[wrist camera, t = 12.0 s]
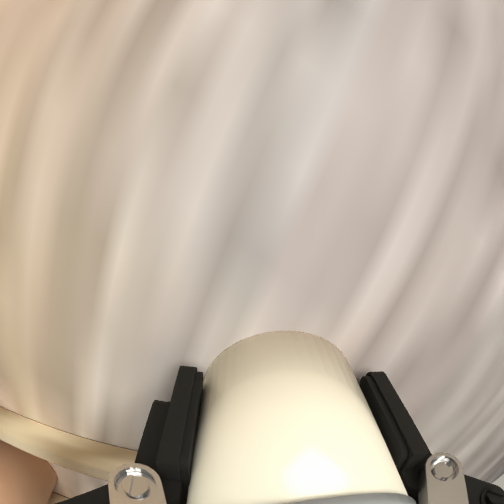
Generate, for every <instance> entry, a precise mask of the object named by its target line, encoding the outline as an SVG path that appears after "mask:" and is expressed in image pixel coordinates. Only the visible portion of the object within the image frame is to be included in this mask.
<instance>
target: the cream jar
mask: <svg viewBox="0 0 504 504" xmlns="http://www.w3.org/2000/svg"><path fill="white" fill-rule="evenodd" d="M186 504H416V501H415V500H414V499H413V498H412V497H410V496H408V494H407V492H406V489H405V487H404V485H403V482H402V480H401V478H400V475H399V473H398V471H397V468H396V466H395V464H394V461H393V459H392V457H391V454H390V452H389V450H388V448H387V445H386V443H385V441H384V439H383V436H382V434H381V432H380V430H379V428H378V425H377V423H376V421H375V419H374V417H373V414H372V412H371V410H370V408H369V406H368V403H367V401H366V399H365V397H364V395H363V393H362V391H361V388H360V386H359V384H358V382H357V380H356V378H355V376H354V374H353V372H352V369H351V367H350V365H349V363H348V361H347V359H346V357H345V356H344V355H343V353H342V352H341V351H340V350H339V349H338V348H337V347H336V346H335V345H333V344H332V343H330V342H329V341H327V340H325V339H323V338H321V337H318V336H315V335H313V334H309V333H304V332H297V331H274V332H267V333H262V334H258V335H254V336H251V337H248V338H246V339H244V340H241V341H239V342H237V343H235V344H234V345H232V346H230V347H229V348H227V349H226V350H225V351H223V352H222V353H221V354H220V355H219V356H218V357H217V358H216V359H215V360H214V361H213V363H212V364H211V365H210V367H209V369H208V371H207V373H206V375H205V378H204V382H203V392H202V398H201V405H200V412H199V419H198V426H197V433H196V440H195V447H194V455H193V462H192V470H191V477H190V484H189V487H188V495H187V503H186Z"/></svg>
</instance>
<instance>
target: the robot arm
mask: <svg viewBox="0 0 504 504" xmlns="http://www.w3.org/2000/svg"><path fill="white" fill-rule="evenodd" d="M359 386H360V388H361V391H362V393H363V395H364V397H365V399H366V401H367V403H368V406H369V408H370V410H371V412H372V414H373V417H374V419H375V421H376V423H377V425H378V428H379V430H380V432H381V434H382V436H383V439H384V441H385V443H386V445H387V448H388V450H389V452H390V454H391V457H392V459H393V461H394V464H395V466H396V468H397V471H398V473H399V475H400V478H401V480H402V482H403V485H404V487H405V489H406V492H407V494H408V496H410V497H412V498H413V499H414V500H415V501H416V504H504V491H503V489H501V488H500V487H498V486H496V485H494V484H490V483H487V482H484V481H481V480H478V479H476V478H473V477H470V476H467V475H464V473H463V468H462V465H461V463H460V461H459V460H458V459H457V458H456V457H454V456H453V455H451V454H448V453H436V454H434V455H432V454H431V453H430V451H429V449H428V447H427V445H426V443H425V442H424V440H423V438H422V436H421V434H420V433H419V431H418V429H417V427H416V425H415V424H414V422H413V420H412V418H411V417H410V415H409V413H408V411H407V410H406V408H405V407H404V405H403V403H402V401H401V400H400V398H399V396H398V394H397V393H396V391H395V389H394V388H393V386H392V384H391V383H390V381H389V379H388V378H387V376H386V374H385V373H384V372H369V373H367V374H366V376H364V377H362V379H361V381H360V384H359ZM202 392H203V372H197V367H188V366H180V368H179V371H178V375H177V379H176V383H175V386H174V390H173V394H172V398H171V401H170V402H164V401H158V400H155V401H154V402H153V404H152V407H151V410H150V413H149V416H148V420H147V423H146V426H145V429H144V432H143V436H142V439H141V442H140V446H139V449H138V452H137V456H136V459H135V462H134V463H129V464H123V465H121V466H119V467H117V468H116V469H115V470H113V471H112V473H111V474H110V476H109V480H108V484H107V485H105V486H102V487H100V488H97V489H95V490H92V491H90V492H87V493H84V494H81V495H79V496H76V497H73V498H70V499H67V500H64V501H61V502H58V503H55V504H186V503H187V495H188V487H189V484H190V477H191V470H192V462H193V455H194V447H195V440H196V433H197V426H198V419H199V412H200V405H201V398H202Z"/></svg>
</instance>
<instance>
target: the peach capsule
mask: <svg viewBox="0 0 504 504" xmlns="http://www.w3.org/2000/svg"><path fill="white" fill-rule="evenodd" d="M57 480H58V478H57V474H56V472H55V471H54V469H53V468H52V467H51V465H50V464H49V463H48V462H47V461H46V460H44V459H42V458H39V457H37V456H34V455H32V454H30V453H28V452H25V451H23V450H21V449H19V448H17V447H15V446H12V445H10V444H8V443H6V442H4V441H2V440H0V504H47V503H48V501H49V498H50V496H51V494H52V492H53V489H54V487H55V485H56V482H57Z"/></svg>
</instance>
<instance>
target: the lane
mask: <svg viewBox="0 0 504 504" xmlns="http://www.w3.org/2000/svg"><path fill="white" fill-rule="evenodd" d="M0 440H2V441H4V442H6V443H8V444H10V445H12V446H15V447H17V448H19V449H21V450H23V451H25V452H28V453H30V454H32V455H34V456H37V457H39V458H42V459H44V460H46V461H49V462H52V463H54V464H57V465H59V466H62V467H65V468H68V469H71V470H74V471H77V472H80V473H83V474H86V475H89V476H92V477H96V478H99V479H103V480H106V481H108V480H109V476H110V474H111V473H112V471H113V470H115V469H116V468H117V467H119V466H121V465H123V464H129V463H134V462H135V459H136V456H137V452H138V451H134V450H130V449H125V448H121V447H116V446H112V445H108V444H104V443H100V442H97V441H93V440H89V439H86V438H82V437H79V436H76V435H73V434H69V433H66V432H63V431H60V430H57V429H54V428H52V427H49V426H46V425H43V424H41V423H38V422H35V421H33V420H30V419H28V418H25V417H23V416H21V415H18V414H16V413H14V412H11V411H9V410H7V409H5V408H2V407H0ZM67 499H69V498H66V497H63V496H61V495H58V494H56V493H53V492H52V494H51V496H50V498H49V501H48V503H47V504H55V503H58V502H61V501H64V500H67Z"/></svg>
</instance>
